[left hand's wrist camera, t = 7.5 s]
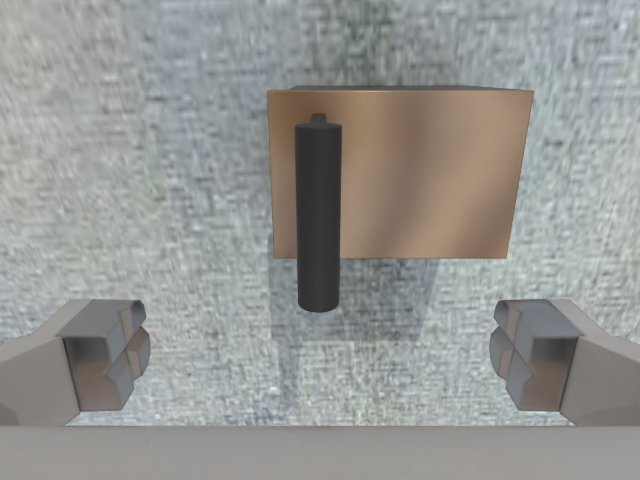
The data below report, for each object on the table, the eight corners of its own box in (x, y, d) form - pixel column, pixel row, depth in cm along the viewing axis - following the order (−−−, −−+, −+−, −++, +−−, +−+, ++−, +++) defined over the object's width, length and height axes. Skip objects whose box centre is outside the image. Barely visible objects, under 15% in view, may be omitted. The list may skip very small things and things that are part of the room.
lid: (275, 251, 27) (254, 333, 18) (269, 90, 23) (239, 98, 15) (499, 251, 27) (582, 334, 18) (524, 89, 23) (641, 98, 15)
